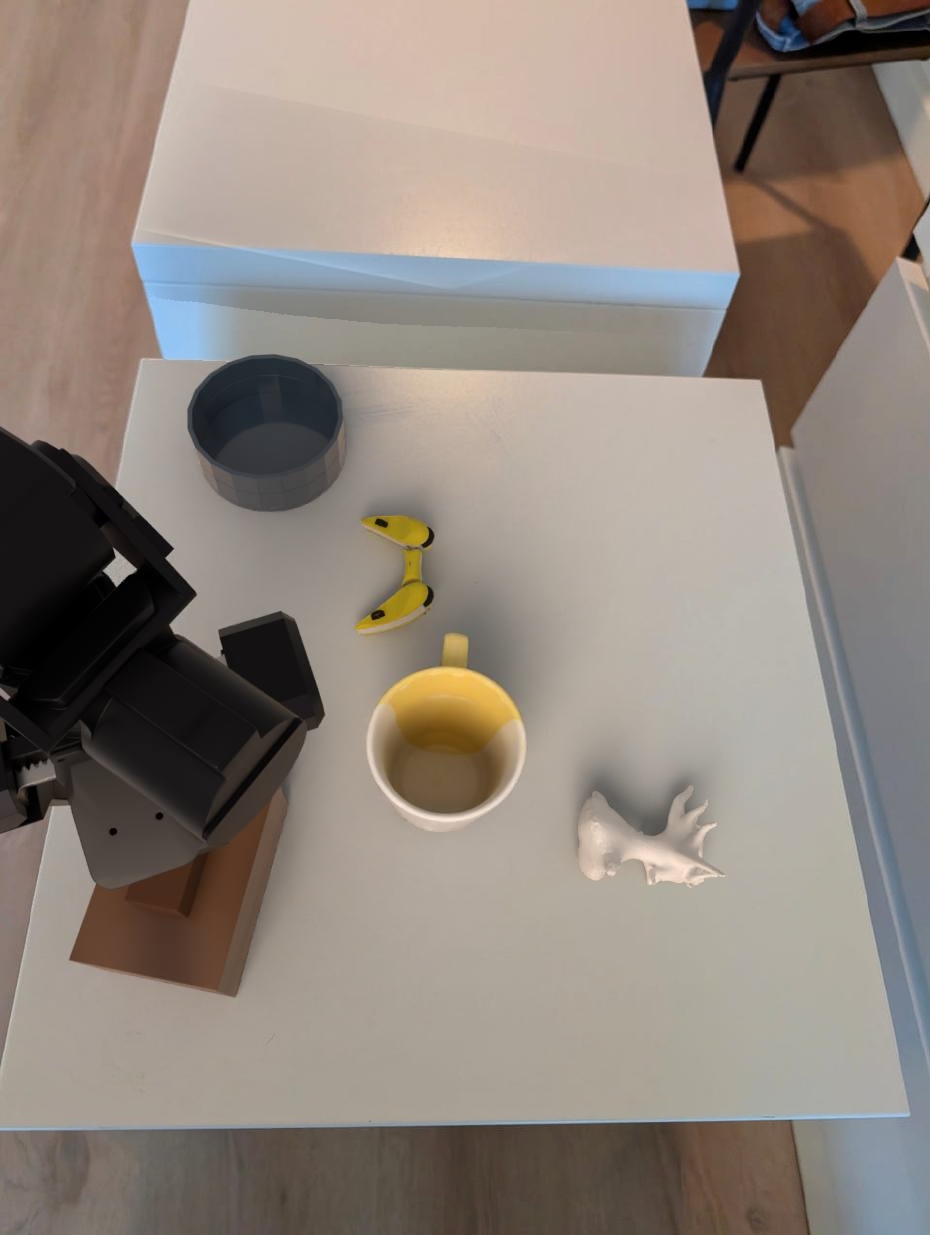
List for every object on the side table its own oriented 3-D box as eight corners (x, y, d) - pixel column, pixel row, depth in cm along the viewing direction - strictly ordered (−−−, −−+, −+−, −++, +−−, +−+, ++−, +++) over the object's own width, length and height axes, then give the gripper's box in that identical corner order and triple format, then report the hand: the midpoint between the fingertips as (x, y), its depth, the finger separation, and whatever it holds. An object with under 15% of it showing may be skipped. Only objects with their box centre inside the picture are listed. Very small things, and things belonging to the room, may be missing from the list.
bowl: (179, 495, 76) (166, 460, 72) (224, 381, 81) (214, 341, 77) (325, 524, 76) (320, 491, 71) (360, 408, 81) (358, 370, 77)
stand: (102, 969, 60) (68, 960, 54) (166, 780, 66) (142, 752, 60) (235, 997, 60) (216, 991, 54) (288, 805, 66) (277, 779, 59)
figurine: (560, 771, 67) (693, 746, 66) (579, 851, 70) (705, 829, 69) (573, 860, 58) (727, 833, 57) (594, 948, 61) (740, 924, 60)
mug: (487, 872, 65) (503, 841, 55) (350, 829, 65) (343, 792, 56) (535, 699, 71) (557, 644, 61) (409, 661, 71) (411, 601, 62)
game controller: (442, 632, 71) (427, 613, 68) (367, 642, 73) (349, 625, 70) (443, 522, 76) (428, 500, 73) (372, 535, 77) (355, 514, 74)
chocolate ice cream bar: (136, 907, 56) (123, 900, 53) (182, 771, 59) (172, 757, 57) (188, 918, 55) (177, 911, 53) (230, 781, 59) (222, 768, 56)
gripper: (-131, 932, 34) (24, 967, 48) (350, 767, 38) (363, 845, 52) (-159, 669, 38) (-9, 773, 52) (276, 546, 42) (307, 673, 56)
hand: (166, 768), depth 53 cm, fingers open, 9 cm apart
